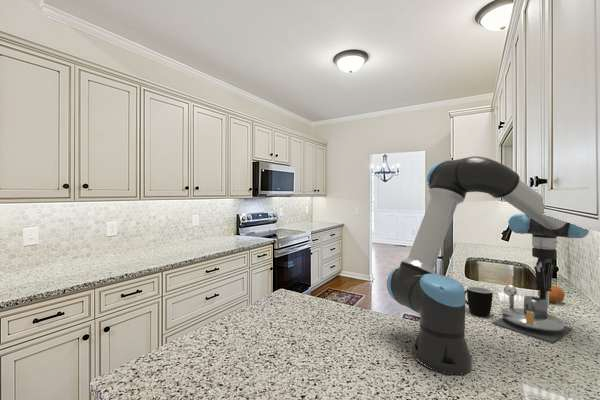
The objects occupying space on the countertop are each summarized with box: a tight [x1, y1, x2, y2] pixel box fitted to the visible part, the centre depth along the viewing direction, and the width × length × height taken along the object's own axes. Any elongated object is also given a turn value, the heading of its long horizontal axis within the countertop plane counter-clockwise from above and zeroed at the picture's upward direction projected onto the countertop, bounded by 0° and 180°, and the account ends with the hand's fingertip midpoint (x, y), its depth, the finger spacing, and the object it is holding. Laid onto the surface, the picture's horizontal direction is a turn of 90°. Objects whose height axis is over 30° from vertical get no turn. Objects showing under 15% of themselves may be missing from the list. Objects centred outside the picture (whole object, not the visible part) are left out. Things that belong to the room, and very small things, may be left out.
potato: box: [537, 285, 565, 303], centre depth 135 cm, size 9×11×8 cm
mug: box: [465, 286, 493, 318], centre depth 120 cm, size 12×9×10 cm
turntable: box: [501, 307, 565, 332], centre depth 107 cm, size 18×18×6 cm
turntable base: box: [491, 317, 573, 344], centre depth 106 cm, size 20×18×2 cm
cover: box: [523, 295, 549, 318], centre depth 109 cm, size 7×7×7 cm
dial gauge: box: [503, 284, 518, 308], centre depth 120 cm, size 4×4×12 cm
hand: (544, 307), depth 114 cm, fingers closed
